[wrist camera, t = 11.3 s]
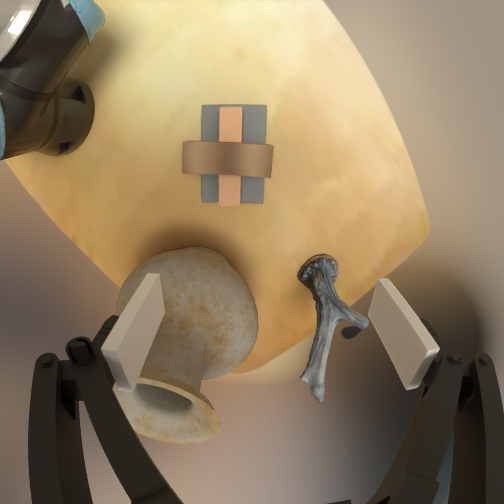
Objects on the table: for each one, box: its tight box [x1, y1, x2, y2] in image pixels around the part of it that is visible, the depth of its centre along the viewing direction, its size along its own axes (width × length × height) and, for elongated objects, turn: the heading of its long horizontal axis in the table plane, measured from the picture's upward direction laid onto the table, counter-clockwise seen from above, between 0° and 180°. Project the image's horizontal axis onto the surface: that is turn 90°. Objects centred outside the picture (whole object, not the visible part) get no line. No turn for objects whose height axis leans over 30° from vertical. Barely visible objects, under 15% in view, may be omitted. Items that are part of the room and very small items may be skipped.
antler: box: [298, 255, 369, 403], centre depth 41 cm, size 12×8×25 cm
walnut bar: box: [182, 141, 273, 178], centre depth 34 cm, size 11×4×4 cm, turn 86°
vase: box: [112, 247, 258, 444], centre depth 38 cm, size 22×22×30 cm
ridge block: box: [201, 105, 267, 206], centre depth 39 cm, size 10×16×7 cm, turn 178°
